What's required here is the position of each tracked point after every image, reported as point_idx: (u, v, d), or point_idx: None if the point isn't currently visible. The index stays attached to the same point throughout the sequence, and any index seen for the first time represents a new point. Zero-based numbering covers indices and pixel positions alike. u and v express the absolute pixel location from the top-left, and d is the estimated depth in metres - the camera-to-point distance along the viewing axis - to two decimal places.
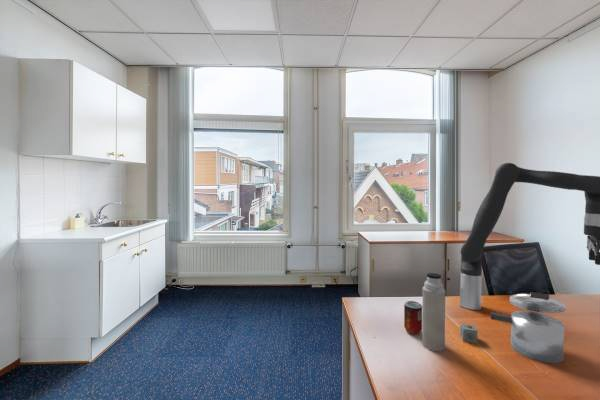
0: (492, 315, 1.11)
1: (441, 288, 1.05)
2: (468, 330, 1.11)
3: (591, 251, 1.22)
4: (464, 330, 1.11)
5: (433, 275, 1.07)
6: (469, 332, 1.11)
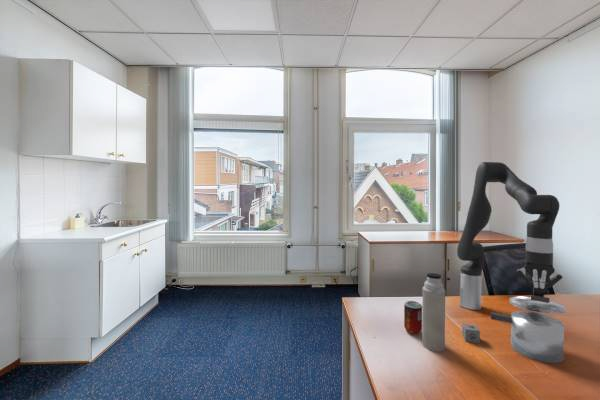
0: (492, 315, 1.11)
1: (441, 288, 1.05)
2: (470, 330, 1.11)
3: None
4: (466, 330, 1.11)
5: (433, 275, 1.07)
6: (471, 332, 1.11)
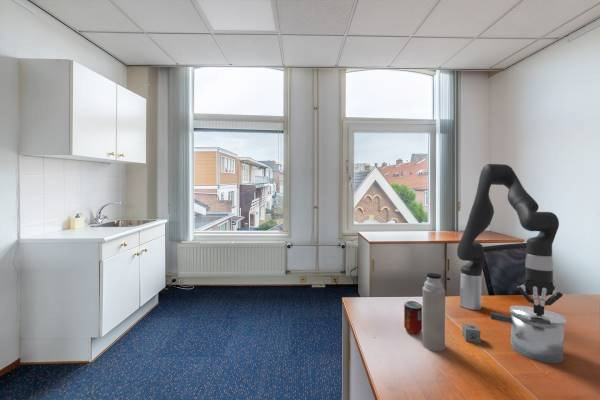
0: (492, 315, 1.11)
1: (441, 288, 1.05)
2: (471, 330, 1.11)
3: (539, 303, 1.00)
4: (467, 330, 1.11)
5: (433, 275, 1.07)
6: (472, 332, 1.11)
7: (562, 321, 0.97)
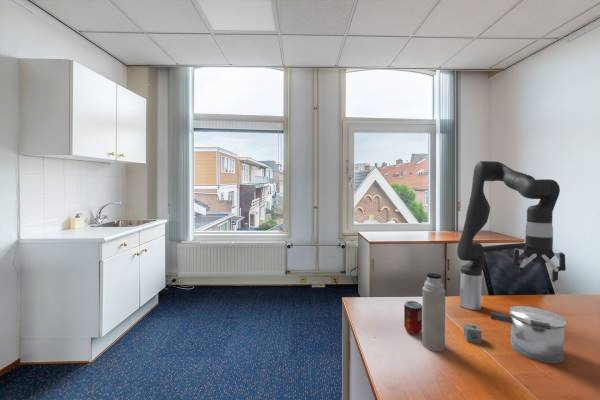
0: (492, 315, 1.11)
1: (441, 288, 1.05)
2: (472, 330, 1.11)
3: None
4: (468, 330, 1.11)
5: (433, 275, 1.07)
6: (473, 332, 1.11)
7: (562, 324, 0.97)
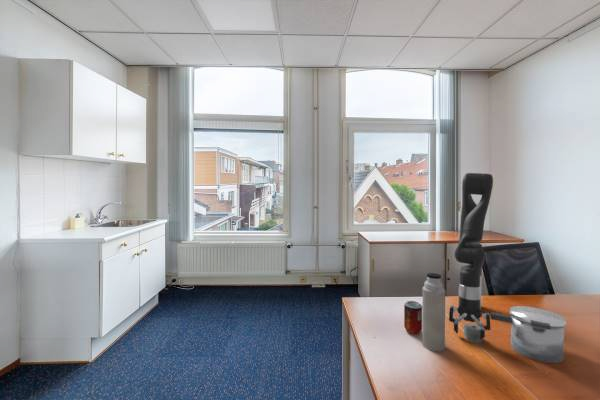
0: (492, 315, 1.11)
1: (441, 288, 1.05)
2: (472, 330, 1.11)
3: (457, 323, 1.15)
4: (468, 330, 1.12)
5: (433, 275, 1.07)
6: (473, 332, 1.11)
7: (562, 324, 0.97)
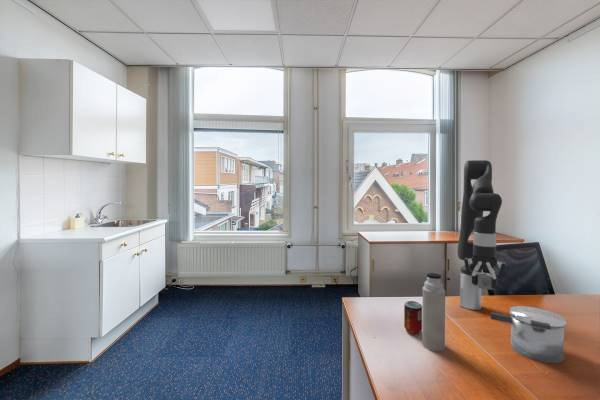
0: (492, 315, 1.11)
1: (441, 288, 1.05)
2: (483, 277, 1.09)
3: (475, 275, 1.12)
4: (479, 277, 1.10)
5: (433, 275, 1.07)
6: (484, 279, 1.09)
7: (562, 324, 0.97)
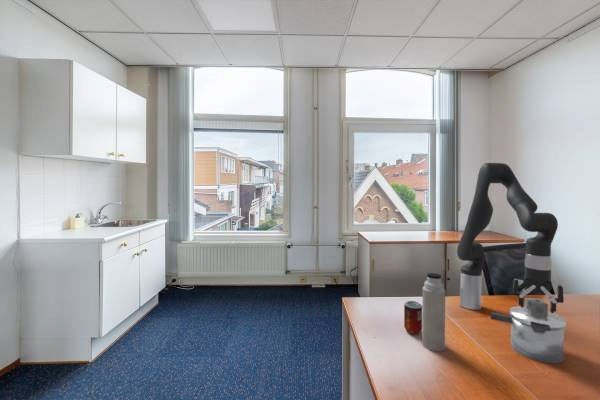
0: (492, 315, 1.11)
1: (441, 288, 1.05)
2: (537, 303, 1.03)
3: None
4: (532, 303, 1.03)
5: (433, 275, 1.07)
6: (538, 306, 1.03)
7: (562, 326, 0.97)
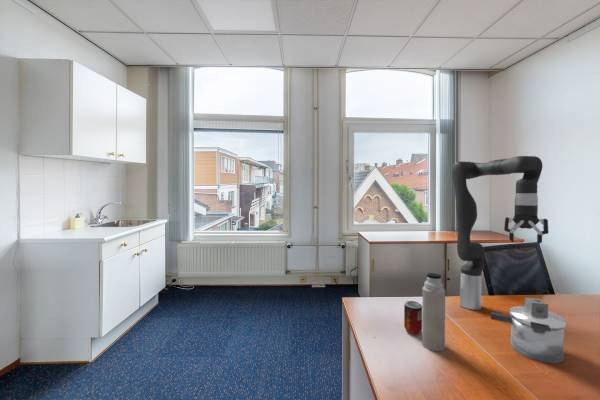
0: (492, 315, 1.11)
1: (441, 288, 1.05)
2: (537, 304, 1.03)
3: None
4: (533, 304, 1.03)
5: (433, 275, 1.07)
6: (538, 306, 1.03)
7: (562, 326, 0.97)
